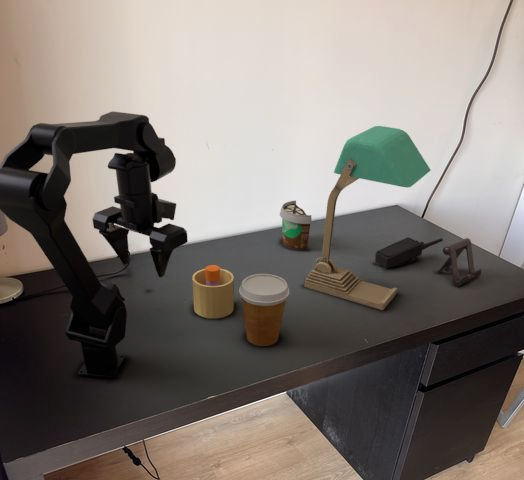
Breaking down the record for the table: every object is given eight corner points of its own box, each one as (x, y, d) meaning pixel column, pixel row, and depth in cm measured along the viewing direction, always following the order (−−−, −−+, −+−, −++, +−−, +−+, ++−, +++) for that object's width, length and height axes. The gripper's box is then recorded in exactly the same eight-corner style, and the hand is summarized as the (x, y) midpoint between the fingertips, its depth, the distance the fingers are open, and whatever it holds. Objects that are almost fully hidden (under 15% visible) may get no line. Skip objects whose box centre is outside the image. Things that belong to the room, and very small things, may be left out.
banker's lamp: (326, 267, 132) (343, 118, 112) (406, 290, 124) (440, 133, 104) (297, 292, 121) (310, 132, 101) (383, 319, 113) (415, 149, 92)
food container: (272, 236, 147) (273, 201, 142) (292, 234, 149) (295, 199, 143) (287, 254, 138) (289, 217, 132) (308, 252, 139) (312, 216, 134)
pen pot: (230, 320, 110) (230, 288, 106) (189, 316, 111) (188, 285, 107) (236, 300, 117) (236, 269, 113) (198, 296, 118) (197, 266, 114)
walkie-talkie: (369, 253, 135) (426, 232, 143) (379, 275, 135) (435, 253, 142) (382, 244, 129) (440, 222, 137) (393, 267, 129) (451, 244, 137)
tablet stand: (459, 287, 126) (468, 255, 121) (431, 275, 131) (439, 244, 126) (479, 277, 130) (489, 246, 126) (452, 266, 135) (460, 235, 130)
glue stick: (219, 309, 113) (218, 271, 107) (205, 308, 113) (204, 270, 108) (221, 302, 115) (221, 265, 110) (208, 301, 115) (207, 264, 110)
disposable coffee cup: (259, 319, 111) (260, 268, 104) (295, 336, 106) (299, 283, 99) (228, 338, 105) (228, 284, 98) (265, 357, 100) (268, 302, 93)
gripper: (205, 189, 94) (207, 268, 103) (129, 169, 102) (137, 244, 111) (163, 206, 87) (169, 290, 96) (84, 183, 95) (97, 263, 104)
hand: (143, 270), depth 102 cm, fingers open, 9 cm apart
